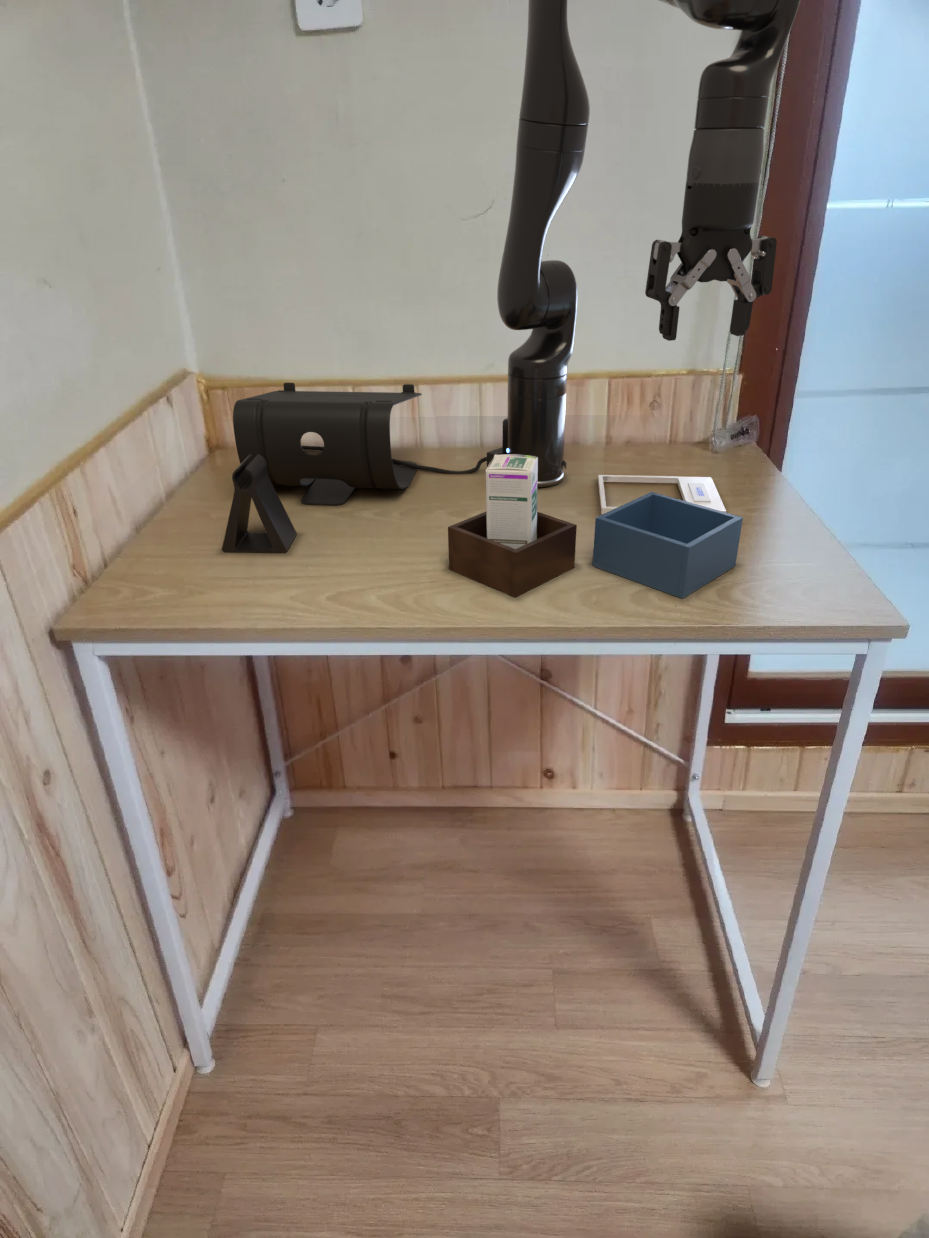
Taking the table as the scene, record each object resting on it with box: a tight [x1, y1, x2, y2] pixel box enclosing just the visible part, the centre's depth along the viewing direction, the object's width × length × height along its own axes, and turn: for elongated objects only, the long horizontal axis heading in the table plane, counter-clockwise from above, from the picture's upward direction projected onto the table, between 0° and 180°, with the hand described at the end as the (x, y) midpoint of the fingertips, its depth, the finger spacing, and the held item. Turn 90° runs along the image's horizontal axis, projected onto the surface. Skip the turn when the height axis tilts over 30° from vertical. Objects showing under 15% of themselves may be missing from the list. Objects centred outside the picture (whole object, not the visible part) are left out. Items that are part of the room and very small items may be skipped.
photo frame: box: [597, 474, 727, 515], centre depth 131 cm, size 15×1×18 cm
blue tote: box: [591, 491, 744, 600], centre depth 108 cm, size 14×13×7 cm
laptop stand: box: [232, 382, 422, 506], centre depth 136 cm, size 26×24×16 cm
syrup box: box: [485, 454, 539, 549], centre depth 106 cm, size 6×6×14 cm
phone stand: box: [221, 454, 298, 554], centre depth 115 cm, size 9×6×12 cm, turn 86°
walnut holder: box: [447, 511, 578, 598], centre depth 108 cm, size 12×12×6 cm
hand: (702, 337), depth 97 cm, fingers open, 8 cm apart
